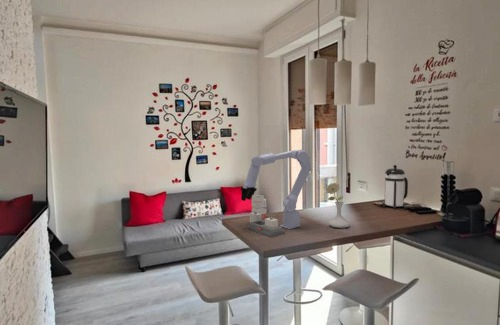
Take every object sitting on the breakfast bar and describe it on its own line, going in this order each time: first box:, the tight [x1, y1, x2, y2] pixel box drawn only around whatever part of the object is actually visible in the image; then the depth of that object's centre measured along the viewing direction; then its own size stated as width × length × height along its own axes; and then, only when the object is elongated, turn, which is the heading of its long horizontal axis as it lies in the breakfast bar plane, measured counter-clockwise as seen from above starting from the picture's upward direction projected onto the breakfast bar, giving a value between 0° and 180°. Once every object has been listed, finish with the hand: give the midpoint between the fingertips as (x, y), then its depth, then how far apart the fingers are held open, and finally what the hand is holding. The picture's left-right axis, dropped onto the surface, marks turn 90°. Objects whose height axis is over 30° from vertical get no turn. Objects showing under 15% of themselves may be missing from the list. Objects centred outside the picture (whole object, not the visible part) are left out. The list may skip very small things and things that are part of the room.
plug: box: [249, 212, 263, 223], centre depth 190 cm, size 4×6×7 cm, turn 38°
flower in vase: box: [325, 182, 350, 229], centre depth 182 cm, size 13×11×25 cm
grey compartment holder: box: [247, 216, 286, 238], centre depth 175 cm, size 10×19×8 cm, turn 38°
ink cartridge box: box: [251, 194, 268, 220], centre depth 204 cm, size 9×5×15 cm, turn 68°
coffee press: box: [382, 164, 409, 210], centre depth 229 cm, size 17×16×30 cm
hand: (245, 199), depth 182 cm, fingers open, 7 cm apart
